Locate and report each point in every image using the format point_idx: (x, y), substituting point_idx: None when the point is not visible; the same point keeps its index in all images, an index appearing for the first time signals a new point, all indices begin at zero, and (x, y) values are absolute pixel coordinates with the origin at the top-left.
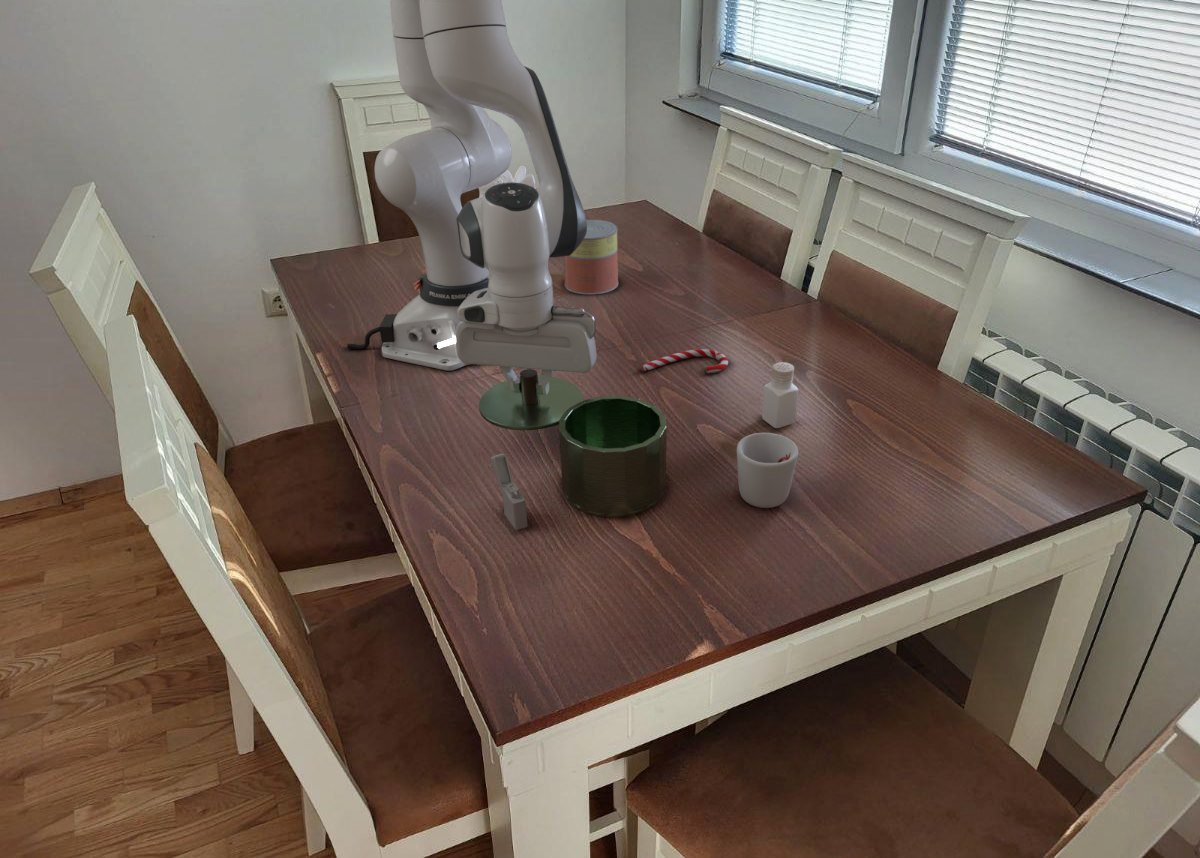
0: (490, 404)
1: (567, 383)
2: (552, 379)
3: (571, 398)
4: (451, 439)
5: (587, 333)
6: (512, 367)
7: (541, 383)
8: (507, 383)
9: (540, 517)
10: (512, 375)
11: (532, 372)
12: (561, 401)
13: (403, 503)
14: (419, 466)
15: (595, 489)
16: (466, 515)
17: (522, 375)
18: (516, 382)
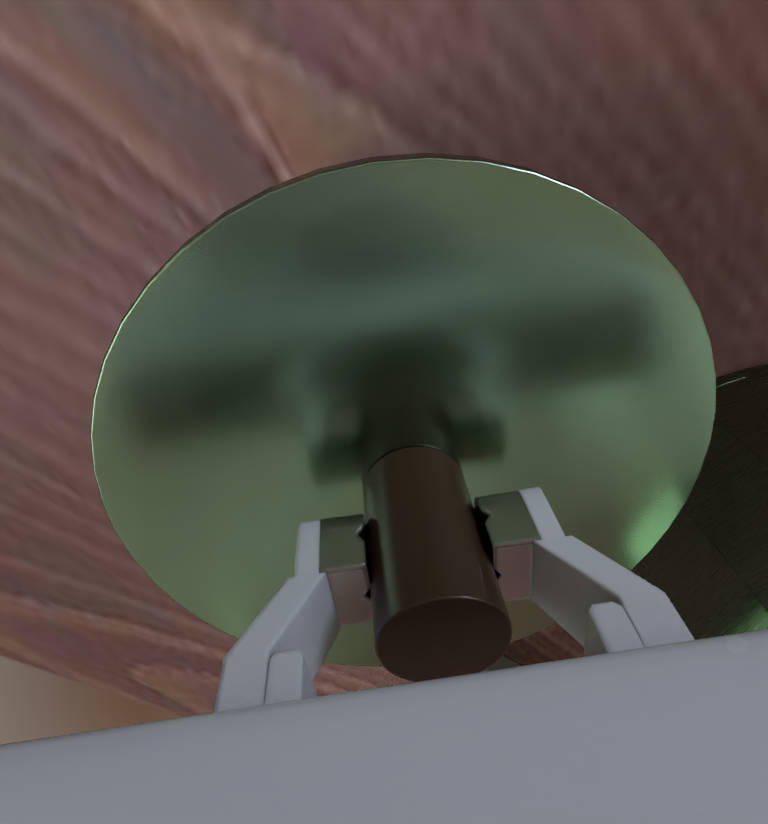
0: (223, 578)
1: (585, 230)
2: (450, 205)
3: (646, 402)
4: (74, 473)
5: None
6: (313, 694)
7: (526, 581)
8: (153, 366)
9: (547, 641)
10: (314, 638)
11: (472, 631)
12: (592, 449)
13: (199, 708)
14: (108, 610)
15: None
16: (372, 687)
17: (413, 672)
18: (353, 616)
